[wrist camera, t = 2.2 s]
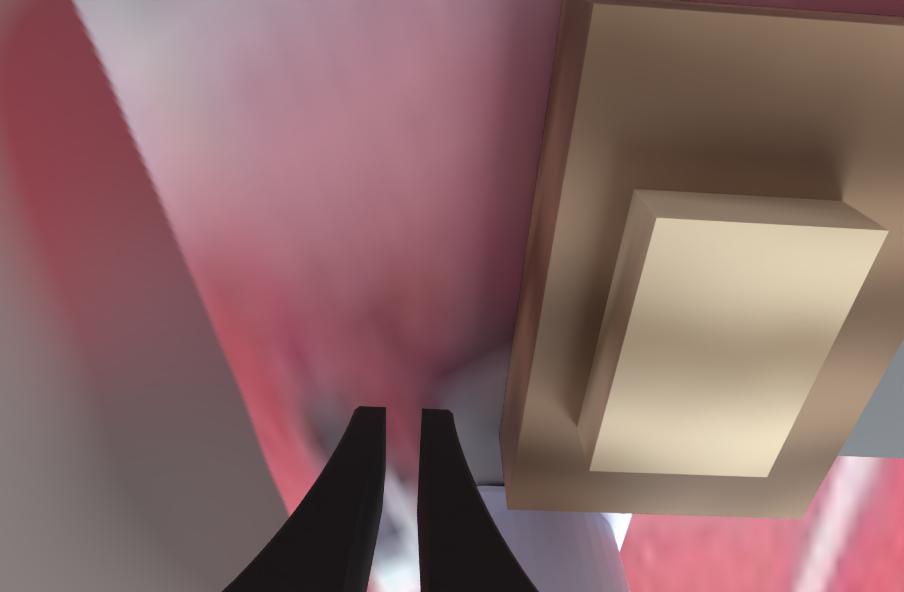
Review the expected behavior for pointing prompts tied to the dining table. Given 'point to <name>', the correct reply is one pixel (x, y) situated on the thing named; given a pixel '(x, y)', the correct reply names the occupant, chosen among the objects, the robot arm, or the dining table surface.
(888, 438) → the mat
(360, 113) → the dining table surface
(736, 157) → the brown shallow box
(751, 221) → the tile
